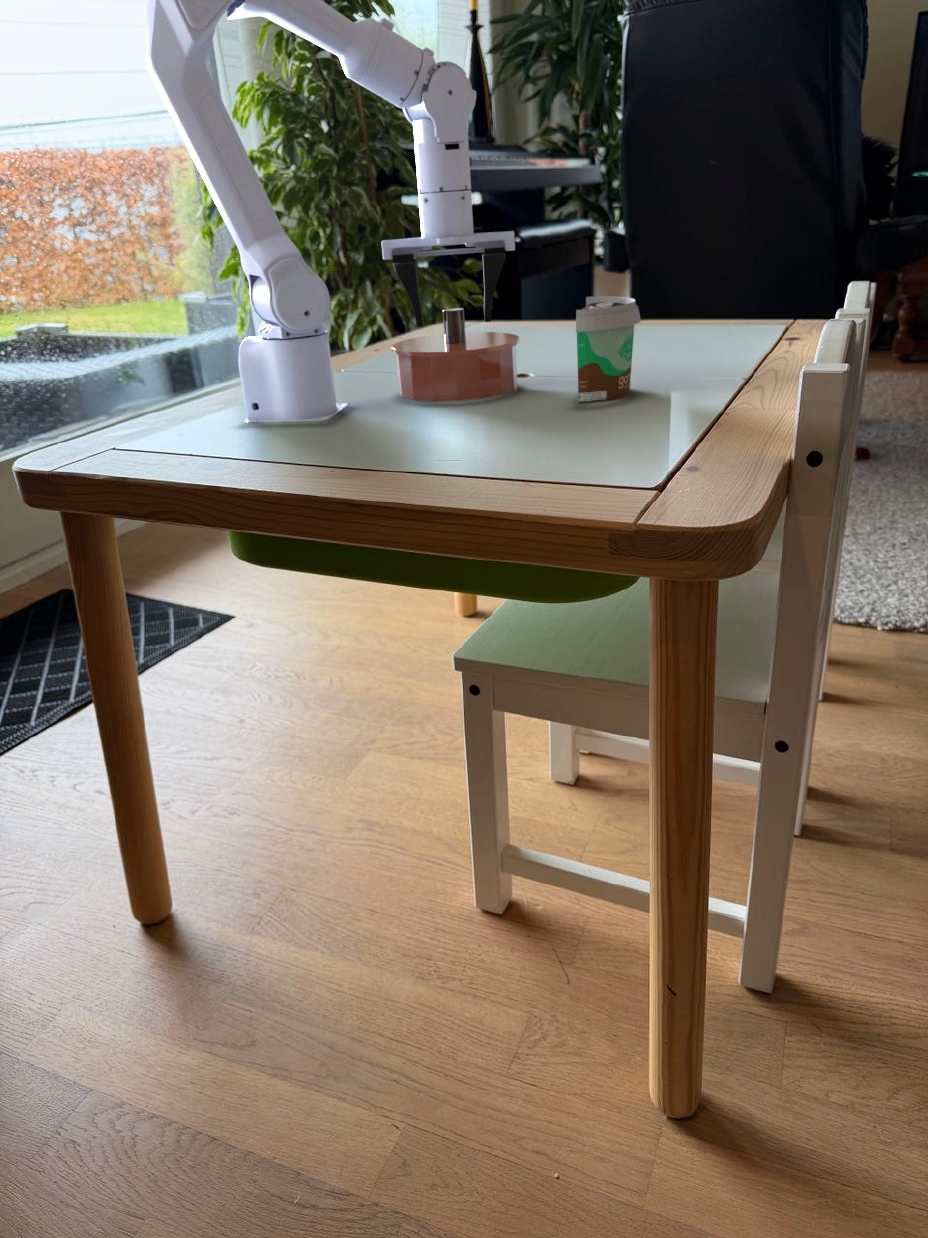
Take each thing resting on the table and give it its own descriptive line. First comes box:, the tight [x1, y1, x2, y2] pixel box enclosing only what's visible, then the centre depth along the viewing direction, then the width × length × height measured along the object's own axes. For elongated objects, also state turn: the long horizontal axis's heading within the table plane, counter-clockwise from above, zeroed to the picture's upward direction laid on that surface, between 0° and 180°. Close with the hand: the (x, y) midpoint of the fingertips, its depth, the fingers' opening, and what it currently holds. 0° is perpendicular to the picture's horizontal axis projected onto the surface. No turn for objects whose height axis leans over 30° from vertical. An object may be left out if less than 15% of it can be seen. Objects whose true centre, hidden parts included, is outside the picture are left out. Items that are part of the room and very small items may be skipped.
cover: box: [391, 307, 520, 357], centre depth 108 cm, size 15×15×5 cm
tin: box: [395, 345, 519, 402], centre depth 110 cm, size 14×14×5 cm
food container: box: [575, 295, 642, 404], centre depth 100 cm, size 12×6×10 cm, turn 168°
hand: (453, 323), depth 107 cm, fingers open, 7 cm apart
